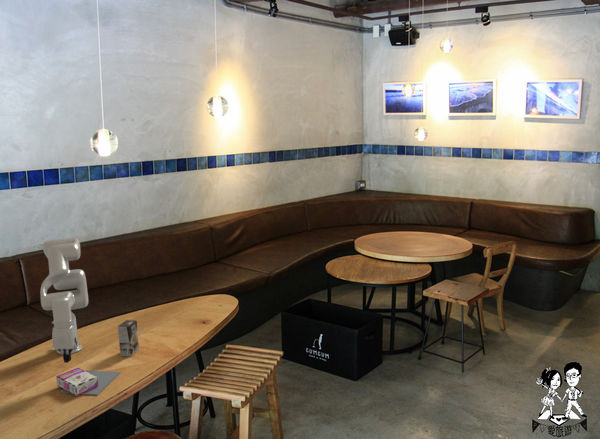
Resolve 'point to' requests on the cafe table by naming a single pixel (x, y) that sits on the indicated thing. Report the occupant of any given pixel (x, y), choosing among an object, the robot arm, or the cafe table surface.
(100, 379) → the mat
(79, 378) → the candy bar box
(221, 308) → the cafe table surface
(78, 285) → the robot arm
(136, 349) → the coffee box
